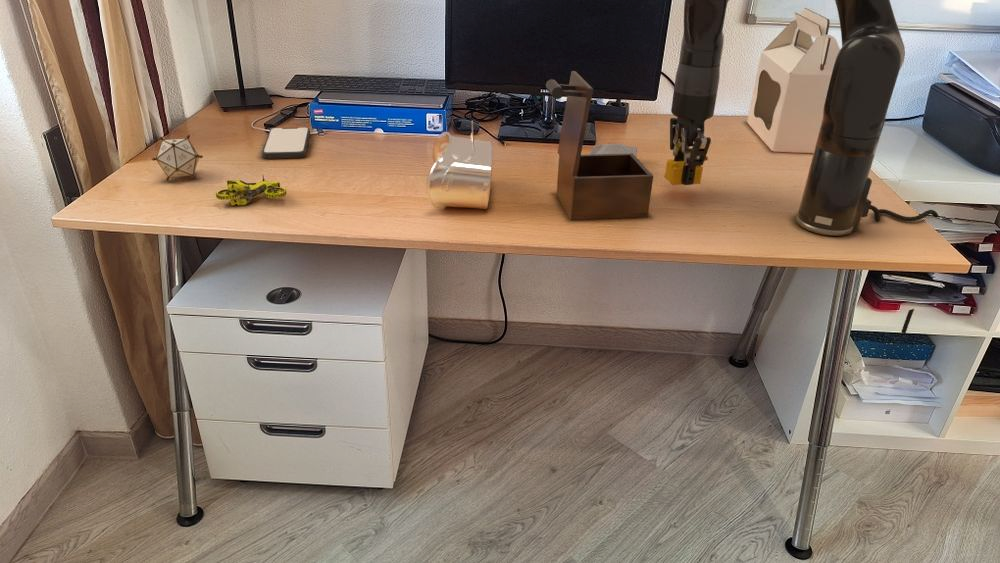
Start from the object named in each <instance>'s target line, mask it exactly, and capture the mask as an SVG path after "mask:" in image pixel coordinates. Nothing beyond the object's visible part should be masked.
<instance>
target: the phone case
mask: <svg viewBox="0 0 1000 563" xmlns="http://www.w3.org/2000/svg"><path fill="white" fill-rule="evenodd" d="M310 137H311V129H310V128H309V127H305V126H304V127H303V126H302V127H301V126H300V127H299V126H298V127H272V128H271V129H269V131H268V134H267V136H266V140H265V143H264V145H263V149H262V151H261V155H262V158H263V159H265V160H276V159H277V160H278V159H279V160H280V159H282V160H283V159H302V158H304V157H306V155H307V150H308V146H309V141H310Z"/></svg>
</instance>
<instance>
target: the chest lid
mask: <svg viewBox="0 0 1000 563" xmlns="http://www.w3.org/2000/svg"><path fill="white" fill-rule="evenodd" d="M545 88H546V90H547V91H548V93H549V94H550V95H551V97H552V98H553V99H555V100H560V99H562V98H563V97H564V96H566V101H565V106H564V112H563V116H562V118H563V119H562V124H561V129H560V135H559V142H558V145H557V146H558V148H557V155H558V157H559V156H560V157H561V159H562V160H563V162H564V163H565V165H566V166H567V168H568V170H569V171H570V173H571V174H572V176H577V172H578V167H579V162H580V157H581V155H582V150H583V146H584V140H585V135H586V130H587V124H588V119H589V114H590V108H591V104H592V98H593V93H594V88H593V87H592V86H591V85H590V84H589V83H588V82H587V81H586V80H585V79H584V78H583V77H582V76H581V75H580V74H579V73H578V72H577V71H576V70H571V72H570V77H569V83H568V84H562V83H558V82H557V81H556V80H555V79H552V78H551V79H549V80H547V81H546V83H545Z"/></svg>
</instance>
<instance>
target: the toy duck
mask: <svg viewBox="0 0 1000 563" xmlns="http://www.w3.org/2000/svg"><path fill="white" fill-rule="evenodd" d="M690 154H691V153H690ZM690 154H689V157H690ZM699 157H700V156H699ZM708 159H709V157H708V156H707V155H706V157H705V160H704V162H705V161H708ZM683 165H684V161H674V159H672V158H671V159H667V161H666V164H665V172H664V179H666V180H667V182H669V183H670V185H672V186H680V185H683V184H682V183H681V179H682V172H683ZM703 169H704V167H703V166H696V170H695V177H694V183H693V184H692V185H699V184H701V183H702V175H703Z"/></svg>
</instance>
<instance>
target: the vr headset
mask: <svg viewBox="0 0 1000 563" xmlns="http://www.w3.org/2000/svg"><path fill="white" fill-rule="evenodd" d="M474 136H475V134H474V120H471V133H470V138H469V137H461V136H456V135H453V134H451V133H450V132H448V131H443V132H441V133H440V134H439V135H438V136H436V138H435V140H434V143H433V147H432V159H433V164H432V166H431V168H430V170H429V172H428V175H427V179H426V189H425V190H426V195H427V200H428V201H429V203H430V205H431V206H433V207H434V208H436V209H441V208H445V207H450V208H465V209H467V208H469V209H483V210H486V209H488V205H489V200H490V194H491V184H492V175H493V156H494V154H493V144H492V141H491V140H483V139H475V137H474Z"/></svg>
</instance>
